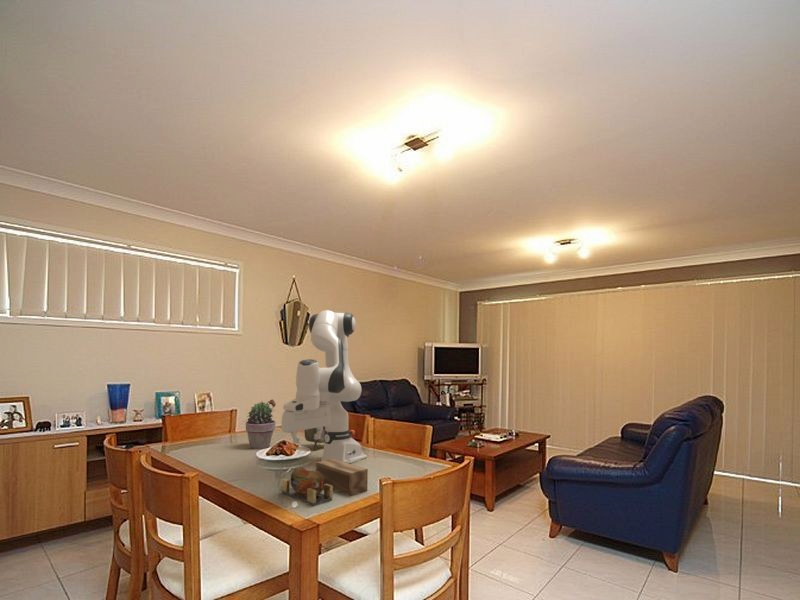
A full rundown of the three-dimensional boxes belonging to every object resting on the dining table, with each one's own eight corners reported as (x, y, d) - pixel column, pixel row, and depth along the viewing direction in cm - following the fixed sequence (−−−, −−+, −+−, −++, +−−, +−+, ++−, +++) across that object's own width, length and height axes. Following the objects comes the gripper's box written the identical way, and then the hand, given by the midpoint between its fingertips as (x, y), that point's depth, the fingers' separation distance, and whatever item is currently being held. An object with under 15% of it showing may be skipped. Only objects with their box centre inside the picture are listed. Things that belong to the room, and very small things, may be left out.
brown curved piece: (289, 490, 167) (290, 467, 168) (296, 488, 170) (296, 465, 170) (318, 498, 158) (319, 473, 159) (325, 496, 161) (325, 471, 162)
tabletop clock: (315, 451, 233) (316, 402, 235) (302, 449, 237) (303, 401, 240) (333, 446, 245) (334, 399, 248) (320, 444, 250) (321, 398, 252)
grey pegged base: (300, 487, 173) (300, 474, 174) (332, 500, 160) (332, 485, 160) (281, 492, 167) (281, 479, 168) (312, 506, 153) (313, 491, 154)
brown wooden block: (331, 478, 185) (331, 458, 186) (367, 490, 170) (367, 468, 171) (314, 483, 179) (315, 462, 180) (350, 495, 164) (350, 473, 165)
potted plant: (232, 447, 240) (234, 400, 243) (264, 442, 255) (265, 397, 258) (250, 453, 229) (252, 403, 231) (283, 446, 243) (284, 399, 246)
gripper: (324, 399, 178) (324, 435, 177) (279, 405, 163) (278, 444, 162) (334, 401, 174) (334, 438, 172) (289, 407, 159) (288, 447, 158)
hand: (307, 441), depth 167 cm, fingers open, 8 cm apart
